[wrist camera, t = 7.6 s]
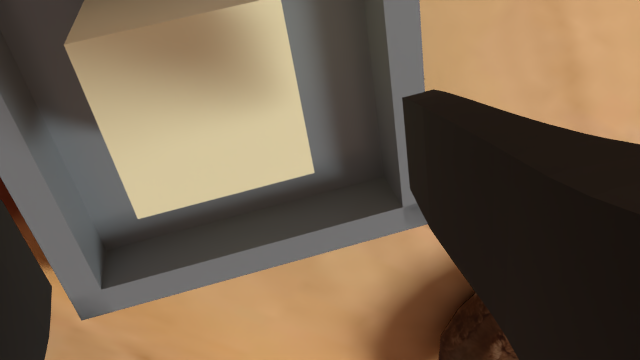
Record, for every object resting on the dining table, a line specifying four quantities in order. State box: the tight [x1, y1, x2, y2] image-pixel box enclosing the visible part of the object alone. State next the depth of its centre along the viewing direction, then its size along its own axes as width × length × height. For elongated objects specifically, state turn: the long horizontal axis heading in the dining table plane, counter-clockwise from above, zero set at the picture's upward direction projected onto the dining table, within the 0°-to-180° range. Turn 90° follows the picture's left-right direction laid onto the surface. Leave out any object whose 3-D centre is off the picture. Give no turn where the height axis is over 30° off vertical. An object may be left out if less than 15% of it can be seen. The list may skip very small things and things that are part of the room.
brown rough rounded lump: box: [439, 293, 519, 360], centre depth 25 cm, size 8×8×6 cm
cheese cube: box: [64, 0, 315, 219], centre depth 15 cm, size 4×4×4 cm
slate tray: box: [0, 0, 428, 320], centre depth 16 cm, size 12×14×2 cm
